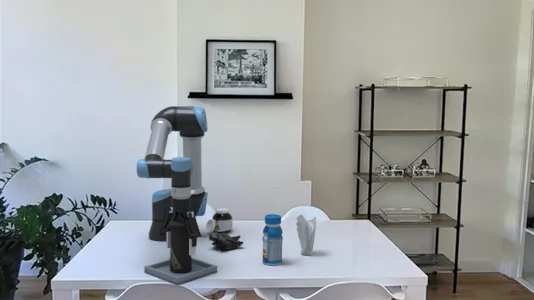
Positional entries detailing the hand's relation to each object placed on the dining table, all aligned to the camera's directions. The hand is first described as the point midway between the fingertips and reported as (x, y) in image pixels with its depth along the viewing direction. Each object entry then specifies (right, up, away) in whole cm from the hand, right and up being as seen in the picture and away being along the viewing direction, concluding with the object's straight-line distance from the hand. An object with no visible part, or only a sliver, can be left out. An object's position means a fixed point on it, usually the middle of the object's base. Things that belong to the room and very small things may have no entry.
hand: (181, 251), depth 204 cm
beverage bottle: (+36, -8, +15) cm, 39 cm away
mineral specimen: (+15, -6, +34) cm, 37 cm away
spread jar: (+9, -3, +63) cm, 64 cm away
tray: (0, -9, +1) cm, 8 cm away
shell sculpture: (+51, -7, +28) cm, 59 cm away
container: (0, -8, +1) cm, 8 cm away
